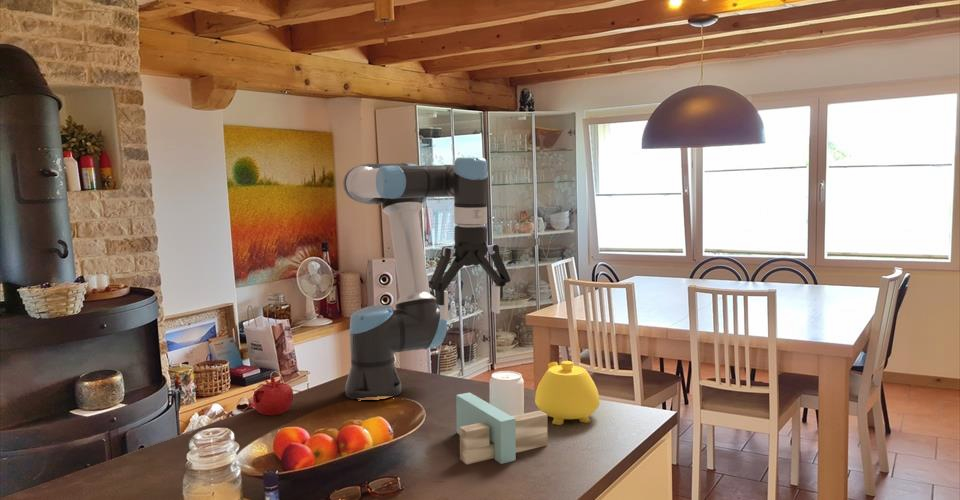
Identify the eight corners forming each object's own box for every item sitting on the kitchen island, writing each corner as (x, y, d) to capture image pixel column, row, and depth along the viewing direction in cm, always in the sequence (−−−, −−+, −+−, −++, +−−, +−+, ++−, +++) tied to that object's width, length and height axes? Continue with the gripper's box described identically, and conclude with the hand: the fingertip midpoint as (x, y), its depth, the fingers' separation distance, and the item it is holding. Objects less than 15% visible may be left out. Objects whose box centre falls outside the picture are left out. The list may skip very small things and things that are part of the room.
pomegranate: (296, 404, 181) (296, 369, 181) (290, 417, 172) (290, 380, 171) (257, 405, 180) (256, 370, 179) (249, 418, 170) (248, 381, 170)
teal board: (456, 432, 160) (456, 394, 159) (470, 429, 162) (469, 392, 161) (501, 463, 143) (500, 421, 142) (515, 460, 144) (515, 418, 143)
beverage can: (521, 431, 160) (521, 381, 159) (486, 429, 162) (486, 379, 161) (526, 419, 168) (525, 371, 167) (493, 417, 170) (492, 369, 168)
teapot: (523, 403, 180) (523, 351, 179) (580, 398, 183) (581, 347, 182) (545, 430, 161) (545, 373, 159) (609, 425, 164) (609, 368, 162)
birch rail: (460, 459, 145) (459, 427, 144) (539, 440, 155) (539, 410, 154) (466, 464, 142) (466, 431, 142) (547, 445, 152) (547, 414, 151)
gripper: (427, 229, 150) (428, 325, 153) (525, 224, 162) (524, 313, 165) (414, 226, 157) (414, 317, 160) (509, 221, 168) (508, 306, 171)
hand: (470, 315), depth 162 cm, fingers open, 13 cm apart
